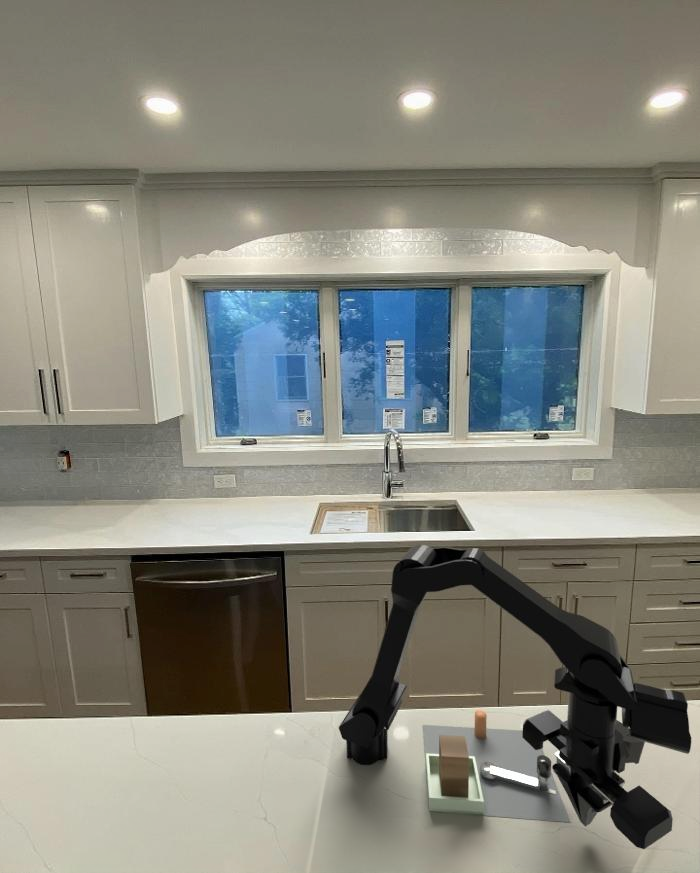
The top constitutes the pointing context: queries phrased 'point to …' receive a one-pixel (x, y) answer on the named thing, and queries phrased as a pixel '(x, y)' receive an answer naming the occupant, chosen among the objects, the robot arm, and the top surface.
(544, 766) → the crank
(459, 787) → the block
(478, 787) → the tray
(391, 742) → the top surface
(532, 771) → the plate
